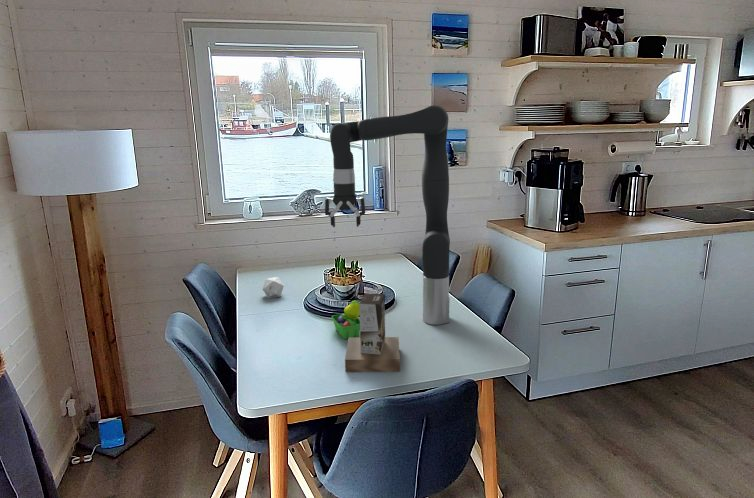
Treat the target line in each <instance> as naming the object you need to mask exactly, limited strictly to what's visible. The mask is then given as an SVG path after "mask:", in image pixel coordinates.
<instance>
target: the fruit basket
mask: <svg viewBox="0 0 754 498" xmlns="http://www.w3.org/2000/svg"><path fill="white" fill-rule="evenodd" d="M359 303H360V301H357V300H352V301H350V304H348V305H347V306H345V308H344V309H343V312H344V313H340V314H334V315H331V319H332V321H333V324H334V327H335V330H336V331H337V332H338V334H340V336H341V337H342V338H343V340H347V339H348V338H353V337H359V336H360V304H359Z"/></svg>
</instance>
